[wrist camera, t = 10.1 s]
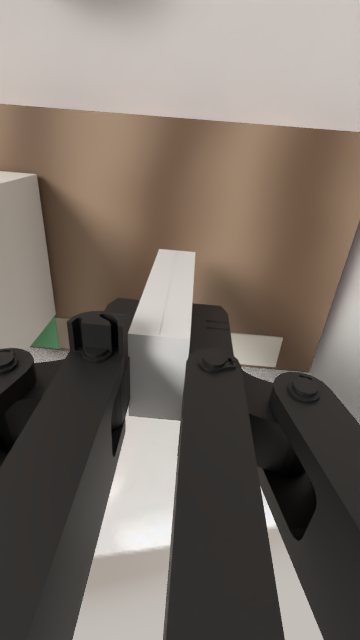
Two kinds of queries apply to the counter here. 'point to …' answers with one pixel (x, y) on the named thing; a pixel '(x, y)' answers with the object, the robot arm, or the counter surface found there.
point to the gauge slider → (23, 263)
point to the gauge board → (193, 217)
